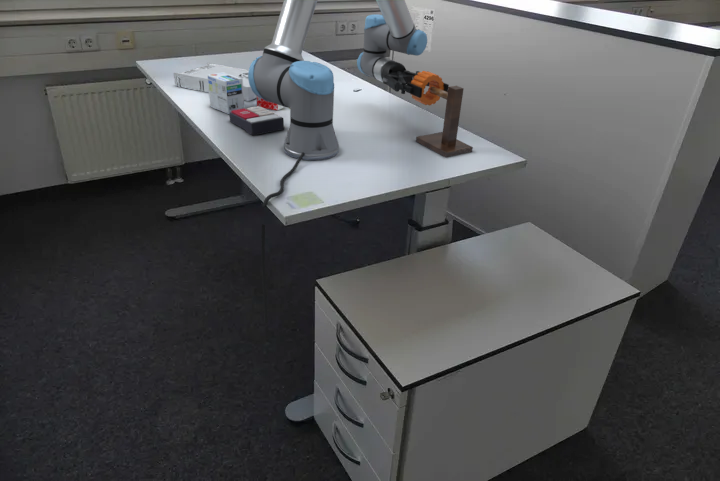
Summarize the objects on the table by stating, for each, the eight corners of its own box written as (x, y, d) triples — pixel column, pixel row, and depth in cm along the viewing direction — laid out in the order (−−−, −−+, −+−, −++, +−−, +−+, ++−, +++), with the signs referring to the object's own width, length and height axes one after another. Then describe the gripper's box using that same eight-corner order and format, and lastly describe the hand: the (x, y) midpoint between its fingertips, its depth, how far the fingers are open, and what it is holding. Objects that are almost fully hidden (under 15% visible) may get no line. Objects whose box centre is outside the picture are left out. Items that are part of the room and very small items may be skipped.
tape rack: (472, 151, 163) (481, 90, 154) (445, 157, 158) (454, 94, 149) (438, 134, 174) (445, 76, 165) (412, 139, 169) (418, 79, 160)
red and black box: (260, 104, 179) (284, 115, 169) (260, 117, 181) (284, 129, 171) (228, 109, 173) (251, 121, 163) (229, 123, 175) (252, 135, 165)
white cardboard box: (208, 75, 220) (207, 62, 218) (279, 89, 208) (278, 75, 206) (175, 86, 205) (173, 72, 203) (249, 101, 194) (248, 87, 191)
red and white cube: (277, 110, 187) (277, 86, 183) (257, 107, 189) (255, 83, 185) (288, 104, 193) (288, 81, 189) (268, 100, 195) (267, 78, 191)
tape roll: (417, 107, 164) (421, 76, 159) (408, 102, 167) (411, 72, 163) (442, 103, 168) (445, 73, 163) (432, 99, 171) (435, 69, 167)
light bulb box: (245, 110, 185) (243, 78, 179) (228, 115, 180) (225, 81, 175) (226, 103, 191) (223, 71, 185) (209, 106, 186) (206, 74, 181)
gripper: (416, 81, 186) (460, 99, 170) (361, 87, 176) (402, 108, 159) (418, 57, 182) (464, 74, 166) (362, 63, 172) (405, 81, 156)
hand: (434, 91), depth 163 cm, fingers closed on tape roll, 9 cm apart
